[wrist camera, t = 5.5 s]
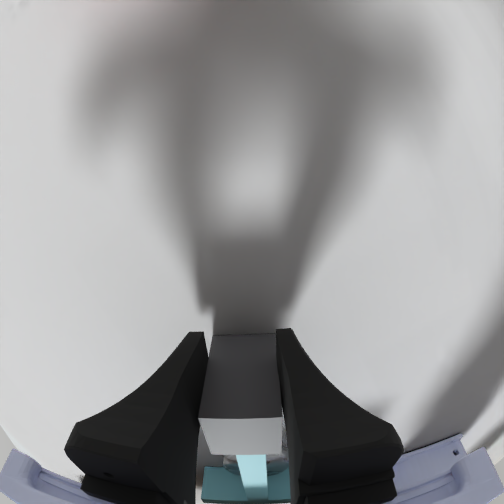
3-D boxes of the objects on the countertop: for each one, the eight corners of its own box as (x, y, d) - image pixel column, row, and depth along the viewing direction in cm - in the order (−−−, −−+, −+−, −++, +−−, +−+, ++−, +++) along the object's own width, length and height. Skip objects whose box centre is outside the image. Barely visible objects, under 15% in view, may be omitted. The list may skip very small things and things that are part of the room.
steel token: (290, 437, 18) (291, 450, 16) (286, 464, 19) (287, 475, 18) (220, 438, 18) (219, 452, 17) (227, 465, 20) (226, 476, 18)
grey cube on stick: (335, 328, 14) (363, 407, 9) (309, 468, 20) (315, 515, 15) (155, 335, 14) (123, 410, 9) (207, 471, 20) (202, 517, 15)
